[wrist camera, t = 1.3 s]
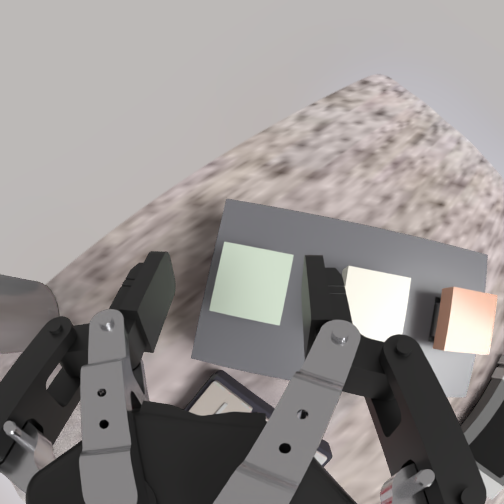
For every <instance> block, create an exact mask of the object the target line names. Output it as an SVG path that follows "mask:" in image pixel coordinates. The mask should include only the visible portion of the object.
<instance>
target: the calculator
mask: <svg viewBox="0 0 504 504" xmlns="http://www.w3.org/2000/svg"><path fill="white" fill-rule="evenodd" d="M184 410H186V411H188V412H191V413H194V414H196V415H201V416H204V415H212V414H220V413H227V412H234V411H235V412H251V413H266V421H267V422H268V420H269V418H270V417H271V415H272V413H273V411H274V410H275V408H273V407H272V406H270V405H269V404H268V403H266V402H265V401H263V400H262V399H261V398H259V397H258V396H257V395H255V394H254V393H252V392H251V391H250V390H248V389H247V388H246V387H244V386H243V385H242V384H240V383H239V382H238V381H236V380H235V379H234V378H232V377H231V376H230V375H228V374H227V373H226V372H224V371H223V370H219V371H217V372H216V373H215V374H213V375H212V376H211V377H210V379H209V380H208V381H207V382H206V383H205V385H204V386H203V387H202V388H201V390H200V391H199V392H198V393H197V394H196V396H195V397H194V398H193V399H192V400H191V402H190V403H189V404H188V405H187V406H186V408H185V409H184ZM314 457H315V458H316V459H317V461H318V462H319V463H320V464H321V465H322V466H323V467H324V466H325V465H326V464H327V463H328V462H329V461H330V460H331V458H332V453H331V450H330V446H329V444H328V443H327V442H326V441H324V440H323V439H322V440H321V442H320V445H319V447H318V449H317V451H316V453H315V455H314Z"/></svg>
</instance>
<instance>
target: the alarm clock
mask: <svg viewBox="0 0 504 504" xmlns="http://www.w3.org/2000/svg"><path fill="white" fill-rule="evenodd" d="M498 364H499V366H498V367H496V369H495V371H494V373H493V375H492V376H491V378H492V380H491V381H490V383H489V385H488V387H487V388H486V390H485V392H484V394H483V395H482V397H481V399H480V400H479V402H478V403H477V405H476V406H475V408H474V409H473V411H472V412H471V414H470V415H469V416H468V417H467V419H466V420H465V421H464V423H463V424H462V425H461V429H462V431H463V433H464V435H465V438H466V440H467V442H468V444H469V447H470V449H471V452H472V454H473V456H474V459H475V461H476V464H477V466H478V469H479V471H480V474H481V477H482V479H483V482H484V484H485V487H486V493H487V494H486V496H487V497H488V498H490V499H493V498H494V497H495V496H496V495H498V494H499V493H500V492H501V491H502V490H503V489H504V355H502V356H501V357H500V359H499V361H498Z"/></svg>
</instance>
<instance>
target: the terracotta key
mask: <svg viewBox="0 0 504 504" xmlns="http://www.w3.org/2000/svg"><path fill="white" fill-rule="evenodd" d="M496 304H497V295H493V294H488V293H483V292H478V291H473V290H468V289H463V288H458V287H449V288H443V289H442V293H441V301H440V303H435V304H434V311H433V317H432V323H431V329H430V335H429V336H434V337H435V338H434V344H433V349H438V350H443V351H451V352H462V353H473V354H485V355H489V351H490V346H491V340H492V334H493V327H494V320H495V313H496Z"/></svg>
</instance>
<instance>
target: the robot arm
mask: <svg viewBox="0 0 504 504" xmlns="http://www.w3.org/2000/svg"><path fill="white" fill-rule="evenodd" d="M174 294H175V278H174V273H173V269H172V264H171V259H170V255H169V253H168V252H153V251H151V252H150V253H149V254H148V256H147V258H146V260H145V261H144V263H138V264H137V265H136V266H135V267H134V268H132V269H131V270H130V272H129V274H128V275H127V277H126V280H125V281H124V282H123V284H122V287H121V288H120V290H119V291H118V293H117V295H116V297H115V299H114V301H113V302H112V304H111V306H110V308H109V309H107V310H103V311H101V312H99V313H97V314H96V315H95V316H94V317H93V318H92V320H91V321H90V323H89V324H83V325H76V326H73V325H72V323H71V321H70V320H69V319H68V318H66V317H62V316H61V317H59V311H58V306H57V302H56V300H55V297H54V295H53V294H52V292H51V290H50V289H49V288H48V287H47V286H46V285H44V284H43V283H40V282H36V281H31V280H26V279H20V278H16V277H10V276H5V275H0V354H5V353H17V352H23V353H22V354H21V355H20V357H19V358H18V359H17V361H16V362H15V363H14V365H13V366H12V367H11V369H10V370H9V371H8V373H7V374H6V375H5V377H4V378H3V379H2V381H1V382H0V472H1V473H2V474H4V475H5V476H6V477H7V478H8V479H9V480H11V481H12V482H13V483H14V484H15V485H16V486H17V487H19V488H20V489H21V490H22V491H23V492H25V493H26V504H357V503H356V502H355V501H354V500H353V499H352V498H351V497H350V496H349V495H348V494H347V492H346V491H345V490H344V489H343V488H342V487H341V486H340V485H339V484H338V483H337V482H336V481H335V480H334V478H333V477H332V476H331V475H330V474H329V473H328V472H327V471H326V470H325V468H324V467H323V466H322V465H321V464H320V463H319V462H318V461H317V459H316V458H315V457H314V455H315V453H316V451H317V449H318V447H319V445H320V442H321V440H322V438H323V436H324V433H325V431H326V429H327V427H328V424H329V422H330V420H331V417H332V415H333V412H334V410H335V408H336V405H337V403H338V400H339V398H340V395H341V393H342V391H344V392H348V393H351V394H356V395H360V396H364V397H365V400H366V403H367V405H368V408H369V411H370V414H371V417H372V420H373V422H374V425H375V428H376V431H377V434H378V437H379V440H380V443H381V446H382V449H383V452H384V455H385V458H386V461H387V464H388V467H389V470H390V473H391V478H389V479H388V480H387V481H386V482H385V483H384V485H383V486H382V489H381V492H380V499H381V504H485V501H486V494H487V493H486V487H485V484H484V482H483V479H482V477H481V474H480V471H479V469H478V466H477V464H476V461H475V459H474V456H473V454H472V452H471V449H470V447H469V444H468V442H467V440H466V438H465V435H464V433H463V431H462V429H461V426H460V424H459V422H458V420H457V418H456V415H455V413H454V411H453V409H452V407H451V405H450V403H449V401H448V399H447V397H446V395H445V393H444V391H443V389H442V387H441V385H440V383H439V381H438V379H437V377H436V375H435V373H434V371H433V369H432V367H431V365H430V363H429V361H428V360H427V358H426V356H425V354H424V352H423V350H422V348H421V347H420V345H419V343H418V342H417V341H416V340H415V339H413V338H412V337H410V336H407V335H403V334H396V335H392V336H390V337H389V338H387V340H386V341H385V342H382V341H378V340H374V339H370V338H367V337H365V336H363V335H362V334H360V332H359V330H358V329H357V327H356V326H355V325H353V323H352V318H351V313H350V309H349V304H348V299H347V295H346V290H345V287H344V281H343V277H342V275H341V274H340V273H339V271H338V270H337V269H336V268H325V264H324V259H323V255H304V264H303V276H302V289H301V300H302V317H303V336H304V357H305V362H304V364H303V366H302V367H301V369H300V371H299V372H298V371H297V372H295V374H294V375H293V377H292V379H291V381H290V382H289V384H288V386H287V388H286V390H285V392H284V393H283V395H282V397H281V399H280V401H279V402H278V404H277V406H276V408H275V410H274V411H273V413H272V415H271V417H270V418H269V420H268V422H267V421H266V413H251V412H235V411H234V412H227V413H220V414H212V415H204V416H201V415H196V414H194V413H191V412H188V411H186V410H183V409H180V408H178V407H175V406H173V405H169V404H162V403H156V402H150V401H149V397H148V391H147V385H146V378H145V371H144V364H143V361H142V359H141V358H142V355H143V353H144V352H150V353H153V352H154V349H155V347H156V344H157V341H158V338H159V335H160V332H161V330H162V327H163V324H164V321H165V319H166V316H167V313H168V310H169V308H170V305H171V302H172V300H173V297H174ZM58 363H60V364H61V366H62V369H61V370H60V371H59V373H58V374H57V376H56V377H55V379H54V380H53V381H52V383H51V384H50V386H49V387H48V389H47V390H46V381H47V379H48V378H49V376H50V375H51V373H52V372H53V370H54V369H55V368H56V366H57V365H58ZM80 399H81V429H82V441H80V442H79V443H78V444H76V445H75V446H73V447H72V448H71V449H69V450H68V451H66V452H65V453H64V454H62V455H61V456H59V457H58V458H56V459H55V456H54V454H53V444H54V442H55V441H56V439H57V437H58V436H59V434H60V432H61V431H62V429H63V427H64V426H65V424H66V422H67V421H68V419H69V417H70V416H71V414H72V412H73V411H74V409H75V407H76V406H77V404H78V403H79V401H80Z"/></svg>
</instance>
